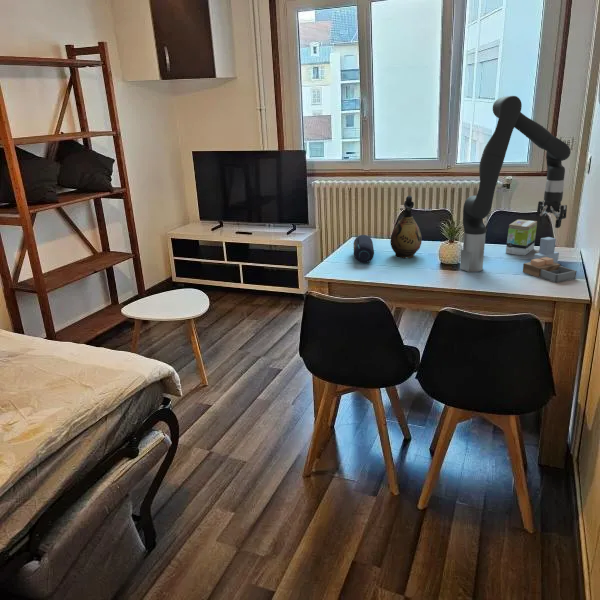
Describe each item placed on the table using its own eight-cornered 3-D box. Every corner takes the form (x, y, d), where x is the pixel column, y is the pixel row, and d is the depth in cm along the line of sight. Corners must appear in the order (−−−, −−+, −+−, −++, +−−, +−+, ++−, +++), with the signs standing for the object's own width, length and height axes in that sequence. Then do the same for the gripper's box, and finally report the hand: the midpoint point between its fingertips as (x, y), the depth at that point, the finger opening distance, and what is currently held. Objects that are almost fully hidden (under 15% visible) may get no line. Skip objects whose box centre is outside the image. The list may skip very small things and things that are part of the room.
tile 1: (537, 266, 230) (538, 262, 229) (530, 264, 233) (530, 259, 233) (544, 265, 231) (545, 260, 231) (537, 262, 235) (537, 258, 234)
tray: (556, 282, 221) (557, 274, 220) (540, 277, 228) (541, 269, 227) (575, 278, 225) (576, 270, 224) (559, 273, 232) (560, 265, 231)
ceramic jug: (421, 260, 260) (424, 199, 250) (390, 260, 263) (391, 199, 252) (420, 251, 276) (422, 193, 265) (390, 251, 278) (391, 193, 268)
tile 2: (546, 264, 232) (546, 260, 231) (539, 262, 235) (539, 258, 234) (553, 263, 233) (553, 259, 232) (545, 261, 236) (546, 256, 236)
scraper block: (539, 266, 243) (542, 241, 239) (532, 264, 246) (535, 239, 242) (557, 262, 247) (560, 237, 243) (550, 260, 250) (553, 236, 246)
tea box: (525, 256, 259) (529, 226, 254) (505, 253, 265) (507, 224, 260) (534, 248, 270) (537, 220, 265) (514, 246, 276) (517, 218, 271)
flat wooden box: (538, 277, 229) (539, 268, 227) (522, 271, 236) (523, 263, 235) (559, 273, 233) (560, 264, 231) (543, 267, 241) (544, 259, 239)
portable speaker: (353, 251, 281) (353, 233, 277) (372, 251, 280) (372, 232, 276) (353, 265, 258) (353, 245, 254) (374, 265, 257) (374, 245, 253)
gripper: (535, 189, 240) (531, 224, 245) (560, 193, 227) (556, 230, 233) (547, 187, 242) (543, 222, 248) (573, 191, 230) (569, 227, 236)
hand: (549, 225), depth 240 cm, fingers open, 8 cm apart
